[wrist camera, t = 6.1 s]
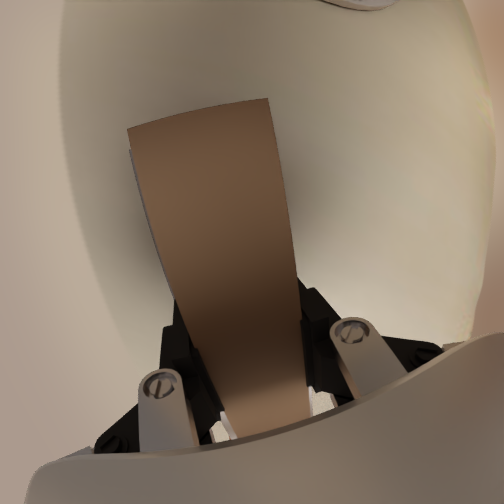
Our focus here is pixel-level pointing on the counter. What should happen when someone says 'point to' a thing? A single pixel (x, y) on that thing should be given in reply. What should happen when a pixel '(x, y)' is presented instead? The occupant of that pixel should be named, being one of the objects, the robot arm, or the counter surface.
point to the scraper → (229, 255)
